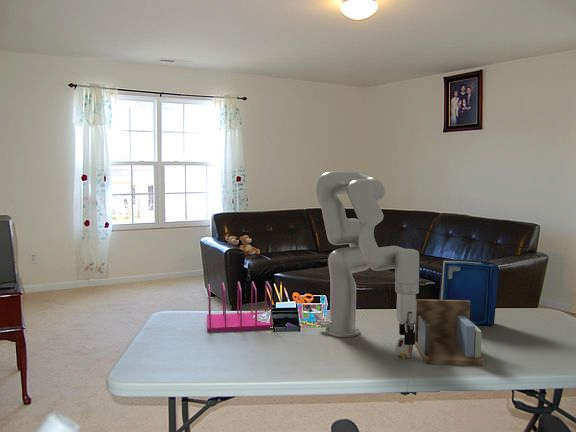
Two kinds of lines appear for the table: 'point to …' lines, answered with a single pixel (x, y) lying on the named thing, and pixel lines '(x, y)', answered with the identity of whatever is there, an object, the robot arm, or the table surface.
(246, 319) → the file sorter
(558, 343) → the table surface
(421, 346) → the bookend
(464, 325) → the standing books
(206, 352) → the table surface
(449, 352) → the shelf
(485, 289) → the book
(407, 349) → the roller toy
